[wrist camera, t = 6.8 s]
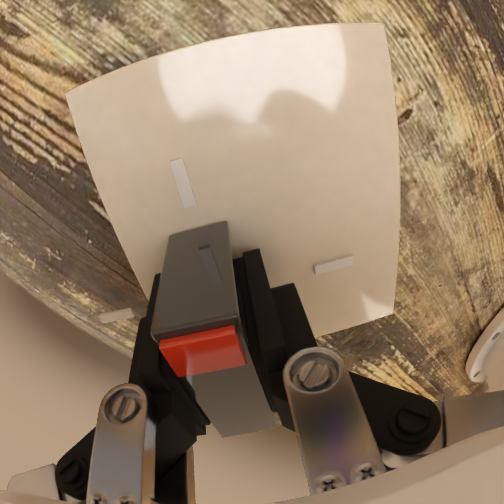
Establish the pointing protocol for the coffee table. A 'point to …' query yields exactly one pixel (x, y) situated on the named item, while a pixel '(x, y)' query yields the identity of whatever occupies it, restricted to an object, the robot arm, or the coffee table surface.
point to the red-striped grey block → (210, 330)
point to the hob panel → (258, 160)
